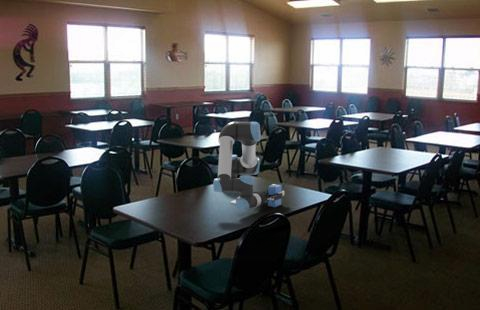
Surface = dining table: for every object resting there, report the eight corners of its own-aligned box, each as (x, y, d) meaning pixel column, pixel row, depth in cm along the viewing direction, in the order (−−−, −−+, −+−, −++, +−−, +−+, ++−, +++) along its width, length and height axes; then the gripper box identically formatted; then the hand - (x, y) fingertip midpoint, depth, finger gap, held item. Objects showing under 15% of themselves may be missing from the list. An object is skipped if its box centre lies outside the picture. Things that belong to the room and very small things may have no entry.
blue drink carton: (273, 203, 303) (274, 182, 300) (281, 204, 300) (281, 183, 298) (267, 205, 297) (268, 184, 295) (275, 207, 294) (275, 185, 292)
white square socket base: (244, 197, 315) (244, 192, 314) (266, 201, 306) (266, 196, 306) (230, 203, 302) (230, 197, 301) (252, 207, 293) (252, 201, 292)
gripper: (244, 203, 290) (267, 195, 308) (269, 209, 278) (292, 200, 296) (244, 190, 288) (267, 183, 306) (269, 196, 277) (292, 188, 295)
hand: (279, 192), depth 301 cm, fingers closed on blue drink carton, 5 cm apart
